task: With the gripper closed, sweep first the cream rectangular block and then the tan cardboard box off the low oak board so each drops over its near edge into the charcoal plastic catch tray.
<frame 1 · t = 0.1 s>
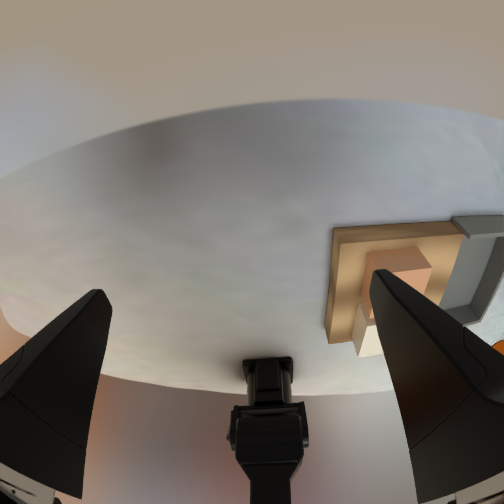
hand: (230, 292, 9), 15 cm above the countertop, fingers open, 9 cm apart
catch tray: (464, 267, 27), on the countertop
spray bottle: (497, 344, 38), on the countertop
cream rectangular block: (377, 317, 27), point 2 cm above the countertop, touching oak board
oak board: (387, 278, 27), on the countertop
tan cardboard box: (388, 272, 24), point 2 cm above the countertop, touching oak board
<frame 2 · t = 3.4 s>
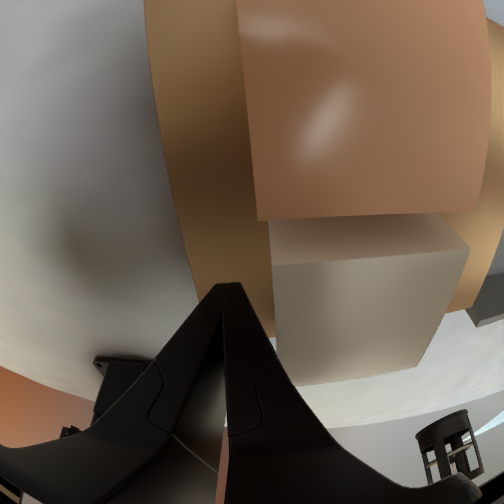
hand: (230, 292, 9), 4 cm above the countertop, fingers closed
cream rectangular block: (343, 266, 9), point 3 cm above the countertop, touching gripper, oak board
oak board: (362, 159, 10), on the countertop
french press: (442, 423, 30), on the countertop
tan cardboard box: (343, 80, 6), point 2 cm above the countertop, touching oak board
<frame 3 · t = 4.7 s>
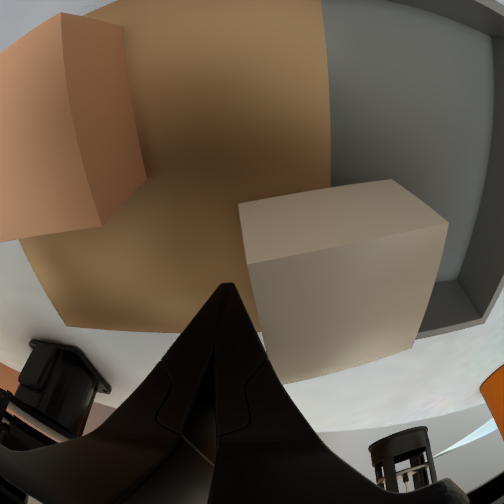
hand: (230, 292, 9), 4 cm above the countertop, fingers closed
catch tray: (418, 158, 10), on the countertop
cream rectangular block: (323, 257, 10), point 3 cm above the countertop, tilted 7°, touching gripper, oak board
oak board: (149, 172, 11), on the countertop
french press: (399, 438, 31), on the countertop
tan cardboard box: (67, 122, 7), point 2 cm above the countertop, touching oak board
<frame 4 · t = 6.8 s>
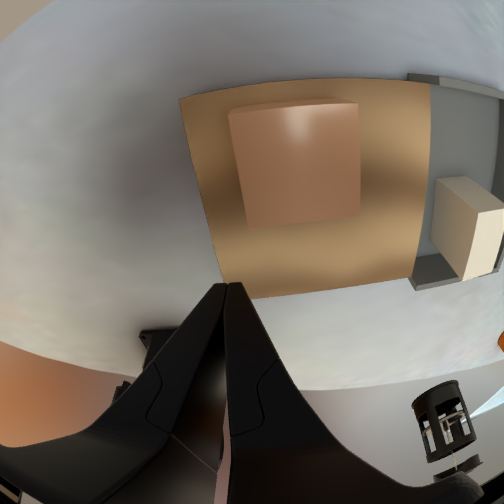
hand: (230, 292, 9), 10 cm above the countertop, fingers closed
catch tray: (457, 175, 16), on the countertop
cream rectangular block: (450, 228, 15), point 3 cm above the countertop, tilted 90°, touching catch tray
oak board: (316, 183, 17), on the countertop
french press: (435, 394, 37), on the countertop
tan cardboard box: (292, 149, 13), point 2 cm above the countertop, touching oak board
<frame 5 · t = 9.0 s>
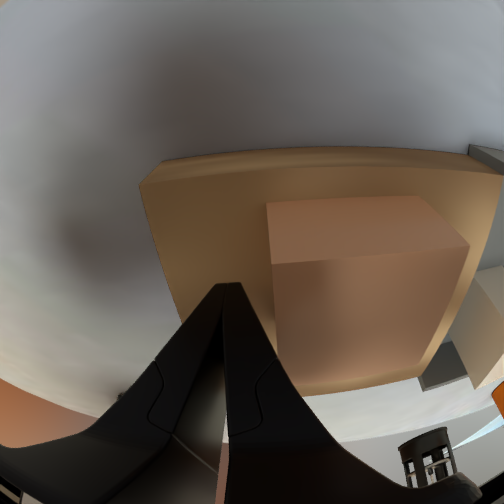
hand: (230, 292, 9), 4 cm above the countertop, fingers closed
catch tray: (491, 264, 13), on the countertop
cream rectangular block: (476, 333, 12), point 3 cm above the countertop, tilted 90°, touching catch tray
oak board: (329, 284, 13), on the countertop
french press: (423, 437, 34), on the countertop
tan cardboard box: (343, 265, 9), point 3 cm above the countertop, touching oak board
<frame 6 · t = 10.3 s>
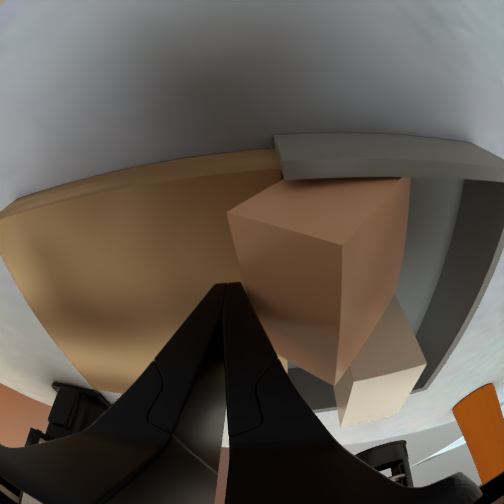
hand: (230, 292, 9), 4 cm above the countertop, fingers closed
catch tray: (372, 278, 13), on the countertop
spray bottle: (479, 389, 25), on the countertop
cream rectangular block: (336, 363, 12), point 3 cm above the countertop, tilted 90°, touching catch tray
oak board: (152, 295, 14), on the countertop
french press: (380, 449, 34), on the countertop
tan cardboard box: (297, 247, 9), point 2 cm above the countertop, tilted 47°, touching catch tray, gripper
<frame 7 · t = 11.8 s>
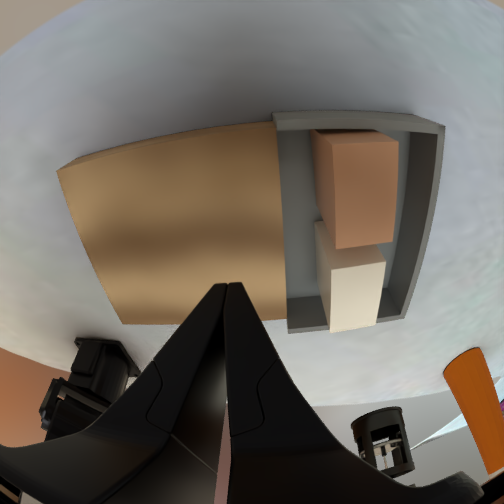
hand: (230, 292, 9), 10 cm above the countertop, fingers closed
catch tray: (347, 216, 18), on the countertop
spray bottle: (468, 353, 30), on the countertop
cream rectangular block: (322, 276, 17), point 3 cm above the countertop, tilted 90°, touching catch tray
oak board: (183, 230, 19), on the countertop
french press: (377, 417, 39), on the countertop
tan cardboard box: (322, 181, 14), point 3 cm above the countertop, tilted 90°, touching catch tray
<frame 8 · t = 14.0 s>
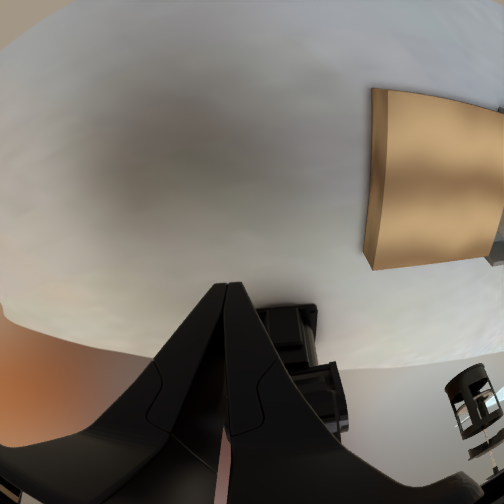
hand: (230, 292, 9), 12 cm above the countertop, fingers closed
oak board: (440, 177, 18), on the countertop
french press: (464, 377, 39), on the countertop
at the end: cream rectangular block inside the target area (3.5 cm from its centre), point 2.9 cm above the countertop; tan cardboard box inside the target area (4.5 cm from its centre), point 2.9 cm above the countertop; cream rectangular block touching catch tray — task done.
